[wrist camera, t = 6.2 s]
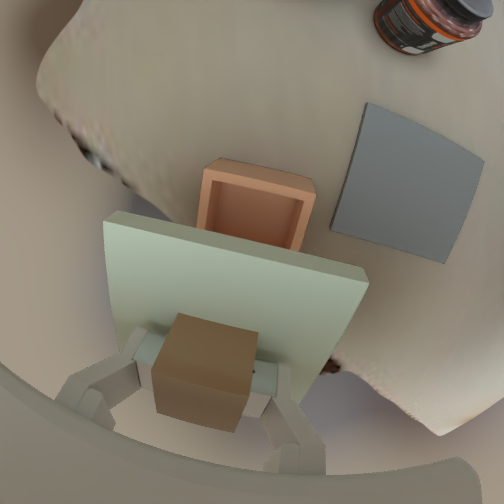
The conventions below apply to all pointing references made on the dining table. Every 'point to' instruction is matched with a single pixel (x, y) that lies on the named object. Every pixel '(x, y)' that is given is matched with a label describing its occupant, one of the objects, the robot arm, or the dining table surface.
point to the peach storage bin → (255, 203)
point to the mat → (406, 186)
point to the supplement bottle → (430, 22)
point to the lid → (223, 311)
